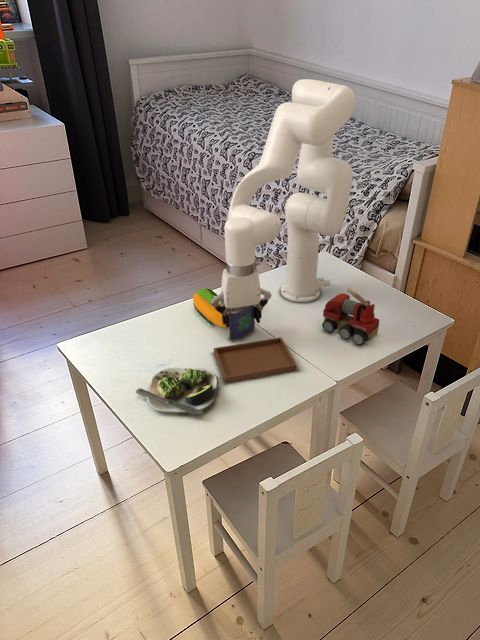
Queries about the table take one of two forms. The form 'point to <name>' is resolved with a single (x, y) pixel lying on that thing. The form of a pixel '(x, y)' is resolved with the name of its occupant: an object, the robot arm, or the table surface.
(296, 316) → the table surface
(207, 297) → the corn
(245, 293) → the robot arm
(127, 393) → the table surface
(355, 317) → the toy fire truck
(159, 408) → the avocado toast plate
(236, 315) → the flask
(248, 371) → the tray
